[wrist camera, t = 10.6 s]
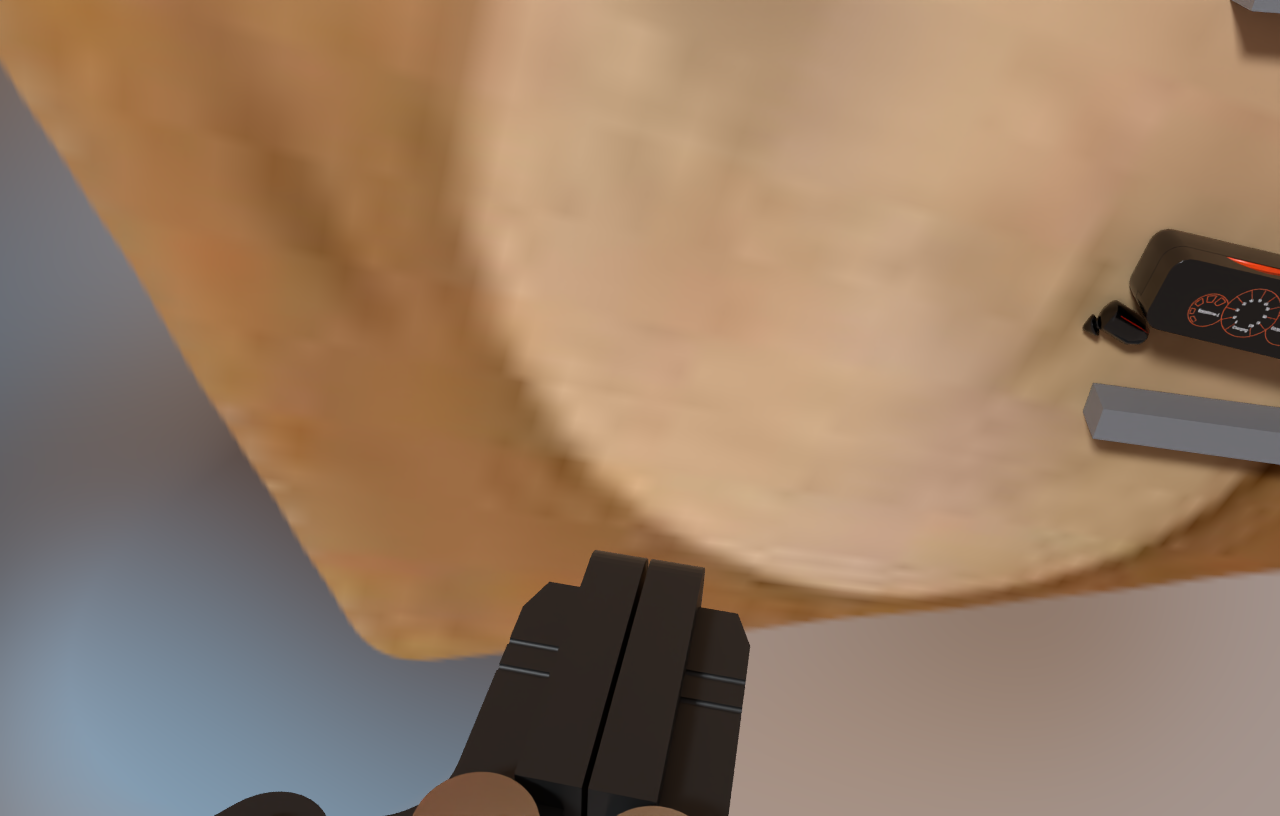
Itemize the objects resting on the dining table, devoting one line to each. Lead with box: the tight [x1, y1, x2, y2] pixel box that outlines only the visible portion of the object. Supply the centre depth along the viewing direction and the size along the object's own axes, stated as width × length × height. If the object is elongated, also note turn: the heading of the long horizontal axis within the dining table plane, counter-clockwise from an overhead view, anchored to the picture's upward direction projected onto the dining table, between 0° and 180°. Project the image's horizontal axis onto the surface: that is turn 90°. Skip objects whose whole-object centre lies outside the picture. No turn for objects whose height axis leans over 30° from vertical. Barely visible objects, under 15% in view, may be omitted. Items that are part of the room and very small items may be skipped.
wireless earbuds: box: [1083, 229, 1280, 359], centre depth 35 cm, size 5×7×3 cm, turn 80°
